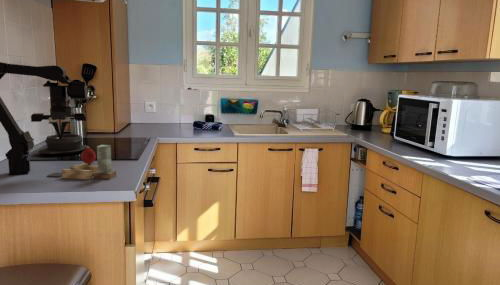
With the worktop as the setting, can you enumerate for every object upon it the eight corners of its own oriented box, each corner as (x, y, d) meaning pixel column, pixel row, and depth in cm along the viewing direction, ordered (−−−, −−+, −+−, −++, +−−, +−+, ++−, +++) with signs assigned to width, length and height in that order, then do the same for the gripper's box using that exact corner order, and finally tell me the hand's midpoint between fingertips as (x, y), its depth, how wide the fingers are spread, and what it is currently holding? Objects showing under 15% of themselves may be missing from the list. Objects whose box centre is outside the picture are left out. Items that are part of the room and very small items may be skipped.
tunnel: (62, 177, 142) (61, 167, 141) (74, 172, 150) (74, 162, 149) (90, 179, 141) (90, 168, 140) (101, 174, 149) (101, 164, 148)
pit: (46, 176, 143) (46, 175, 143) (54, 173, 148) (54, 172, 148) (59, 177, 143) (59, 176, 143) (67, 174, 148) (67, 172, 148)
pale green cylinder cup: (93, 178, 143) (92, 146, 141) (99, 175, 147) (98, 144, 145) (110, 179, 142) (109, 147, 140) (116, 176, 147) (115, 145, 145)
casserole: (57, 159, 175) (56, 140, 174) (28, 155, 182) (27, 137, 181) (98, 150, 198) (97, 134, 197) (71, 147, 205) (70, 131, 204)
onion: (91, 162, 169) (91, 144, 167) (98, 164, 165) (98, 146, 164) (79, 164, 164) (78, 146, 163) (85, 167, 160) (84, 148, 159)
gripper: (28, 100, 136) (31, 143, 138) (85, 100, 144) (87, 141, 146) (31, 98, 146) (34, 139, 148) (84, 98, 154) (86, 137, 156)
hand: (60, 139), depth 149 cm, fingers closed
